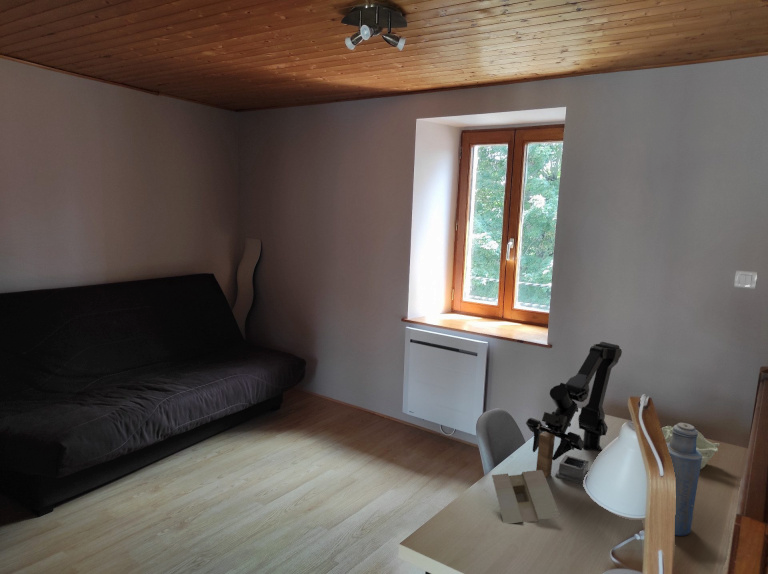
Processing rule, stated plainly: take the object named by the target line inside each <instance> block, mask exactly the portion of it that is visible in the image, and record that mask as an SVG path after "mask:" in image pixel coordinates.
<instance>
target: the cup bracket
mask: <svg viewBox="0 0 768 574" xmlns="http://www.w3.org/2000/svg"><path fill="white" fill-rule="evenodd" d="M588 471H589V461H588V460H585V459H582V458H578V457H576V456H571V455H568V454H565V455H564V456H563V458H562V459H561V461H560V462H559V467H558V469H557V470H556V472H555V477H557V478H560V479H563V480H565V481H570V482H572V483H576V484H579V485H582V486H584V485H583V480H584V477H585V475H586V474H587V472H588Z"/></svg>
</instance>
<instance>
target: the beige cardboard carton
mask: <svg viewBox="0 0 768 574" xmlns="http://www.w3.org/2000/svg"><path fill="white" fill-rule="evenodd" d="M491 477H492V478H491V479H492V483H493V485H494V489H495V494H496V498H497V502H498V505H499V511H500V514H501V517H502V518H501V519H502V521H503V522H502V523H503V524H509V525H510V524H514V523H515V524H516V523H517V524H518V523H531V522H537V521H539V520H547V519H554V518H561V513H560V511H559V509H558V505H557V503H556V501H555V498H554V496H553V493H552V491H551V487H550V485H549V483H548V480H547V478H545V475H544V473H543V471H542V470H527V471H522V472H521V473H519V474H514V475H513V474H511V475H510V474H509V473H500V474H498V473H497V474H492V475H491Z"/></svg>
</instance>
